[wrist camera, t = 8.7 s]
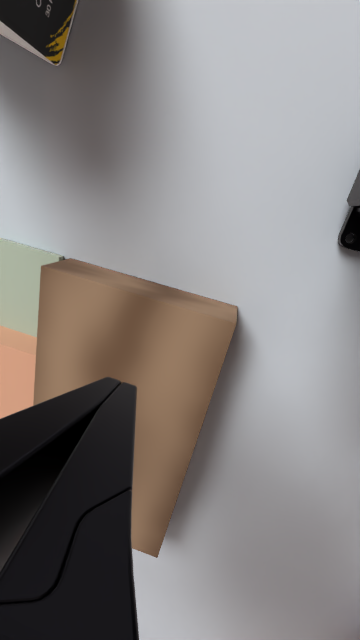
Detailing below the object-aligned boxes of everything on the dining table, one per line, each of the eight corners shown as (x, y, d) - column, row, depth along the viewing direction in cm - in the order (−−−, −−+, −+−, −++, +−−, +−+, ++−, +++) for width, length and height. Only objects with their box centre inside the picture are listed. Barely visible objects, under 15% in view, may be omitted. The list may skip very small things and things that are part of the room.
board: (237, 306, 18) (236, 323, 15) (166, 519, 25) (157, 557, 22) (70, 258, 19) (41, 265, 16) (50, 476, 26) (27, 507, 23)
